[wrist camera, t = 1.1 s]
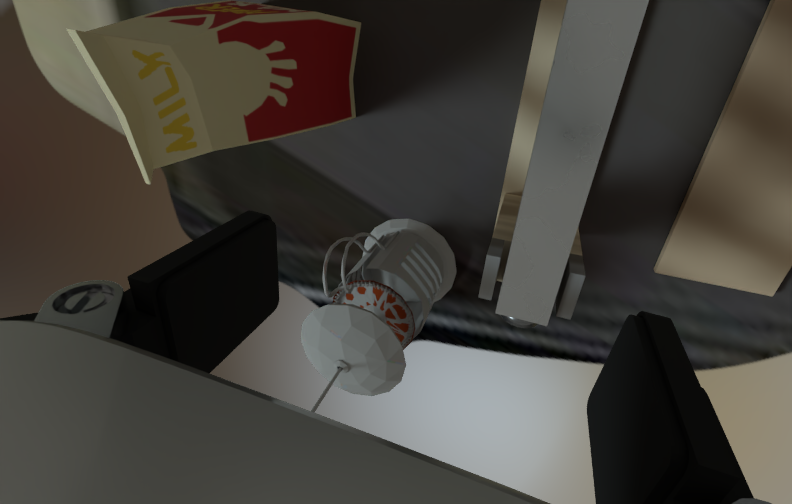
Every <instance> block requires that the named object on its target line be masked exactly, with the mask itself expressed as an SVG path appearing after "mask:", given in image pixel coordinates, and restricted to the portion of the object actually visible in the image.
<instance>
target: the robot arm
mask: <svg viewBox="0 0 792 504" xmlns="http://www.w3.org/2000/svg"><path fill="white" fill-rule="evenodd" d="M128 281H129V284H130V289H129V290H127V291H125V292H124V291H123V288H122V287H121V286H120V285H119V284H117V283H115V282H112V281H105V280H96V281H87V282H81V283H78V284H74V285H70V286H68V287H65V288H63V289H61V290H59V291H57V292H56V293H54V294H53V295H51V296H50V297H49V298H48V299H47V300H46V301H45V302H44V304H43V306H42V308H41V310H40V312H39V313H33V314H26V315H20V316H13V317H7V318H0V504H550V503H547V502H545V501H542V500H540V499H537V498H535V497H532V496H530V495H527V494H525V493H522V492H520V491H517V490H515V489H512V488H510V487H507V486H505V485H502V484H499V483H497V482H494V481H492V480H489V479H486V478H484V477H481V476H479V475H476V474H473V473H471V472H468V471H465V470H463V469H460V468H458V467H455V466H452V465H450V464H447V463H445V462H442V461H439V460H437V459H434V458H432V457H429V456H426V455H424V454H421V453H418V452H416V451H413V450H411V449H408V448H405V447H403V446H400V445H398V444H395V443H393V442H390V441H387V440H385V439H382V438H379V437H376V436H374V435H372V434H369V433H366V432H363V431H361V430H358V429H356V428H353V427H350V426H348V425H345V424H342V423H340V422H337V421H334V420H331V419H329V418H327V417H324V416H321V415H319V414H316V413H313V412H311V411H308V410H305V409H303V408H300V407H297V406H295V405H292V404H289V403H287V402H284V401H281V400H279V399H276V398H273V397H271V396H268V395H266V394H263V393H260V392H258V391H255V390H252V389H249V388H247V387H244V386H241V385H239V384H236V383H233V382H231V381H228V380H225V379H222V378H220V377H217V376H214V375H212V374H209V373H210V372H211V371H212V370H213V369H214V368H215V367H216V366H218V365H219V364H220V363H221V362H222V361H223V360H224V359H225V358H226V357H227V356H228V355H229V354H230V353H231V352H232V351H233V350H234V349H235V348H236V347H237V346H238V345H239V344H240V343H241V342H242V341H243V340H244V339H246V338H247V337H248V336H249V335H250V334H251V333H252V332H253V331H254V330H255V329H256V328H257V327H258V326H259V325H260V324H261V323H262V322H263V321H264V320H265V319H266V318H267V317H268V316H269V315H271V314H272V313H273V312H274V310H275V309H276V308H277V305H278V302H279V285H278V284H279V283H278V261H277V238H276V225H275V223H274V222H273V221H272V219H271V217H270V216H269V215H266V214H262V213H258V212H254V211H247V212H245V213H243V214H241V215H239V216H237V217H236V218H234V219H232V220H230V221H228V222H226V223H225V224H223V225H221V226H219V227H217V228H216V229H214V230H212V231H210V232H208V233H206V234H205V235H203V236H201V237H199V238H197V239H195V240H194V241H192V242H190V243H188V244H186V245H185V246H183V247H181V248H179V249H177V250H175V251H174V252H172V253H170V254H168V255H166V256H164V257H163V258H161V259H159V260H157V261H155V262H154V263H152V264H150V265H148V266H146V267H144V268H143V269H141V270H139V271H137V272H135V273H133V274H132V275H130V276H128ZM587 416H588V426H589V437H590V447H591V457H592V467H593V477H594V487H595V498H596V504H771V503H769V502H766V501H762V500H758V499H755V498H753V495H752V493H751V491H750V489H749V486H748V484H747V482H746V480H745V477H744V475H743V473H742V471H741V468H740V466H739V464H738V462H737V460H736V457H735V455H734V453H733V451H732V448H731V446H730V444H729V442H728V439H727V437H726V435H725V433H724V431H723V428H722V426H721V424H720V422H719V420H718V417H717V415H716V413H715V410H714V408H713V406H712V404H711V402H710V399H709V397H708V395H707V393H706V392H705V390H704V389H703V388H702V387H701V386H700V384H699V381H698V379H697V377H696V375H695V372H694V370H693V368H692V365H691V363H690V361H689V359H688V356H687V354H686V352H685V350H684V347H683V345H682V343H681V340H680V338H679V336H678V334H677V331H676V329H675V327H674V324H673V322H672V320H671V319H670V318H667V317H663V316H660V315H656V314H652V313H648V312H644V311H641V312H639V313H638V314H637V316H635V315H629V316H628V317H627V319H626V321H625V323H624V325H623V327H622V329H621V331H620V333H619V335H618V337H617V339H616V341H615V344H614V346H613V348H612V350H611V352H610V354H609V356H608V358H607V360H606V362H605V364H604V366H603V368H602V371H601V373H600V375H599V377H598V379H597V381H596V383H595V385H594V387H593V389H592V391H591V393H590V396H589V399H588V404H587Z"/></svg>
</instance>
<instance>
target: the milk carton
mask: <svg viewBox="0 0 792 504" xmlns="http://www.w3.org/2000/svg"><path fill="white" fill-rule="evenodd" d="M360 29H361V22H357V21H353V20H349V19H344V18H340V17H336V16H332V15H328V14H324V13H319V12H314V11H306V10H297V9H291V8H285V7H278V6H272V5H266V4H258V3H249V2H239V1H230V0H228V1H219V2H211V3H203V4H195V5H187V6H179V7H170V8H167V9H163V10H160V11H156V12H153V13H149V14H146V15H142V16H139V17H135V18H132V19H128V20H125V21H121V22H118V23H114V24H111V25H107V26H104V27H100V28H97V29H93V30H90V31H86V32H82V31H77V30H71V29H66V30H67V31H68V33H69V35H70V36H71V38H72V40H73V41H74V43H75V45H76V46H77V48H78V50H79V51H80V53H81V55H82V56H83V58H84V60H85V61H86V63H87V65H88V66H89V68H90V70H91V71H92V73H93V75H94V76H95V78H96V80H97V82H98V83H99V85H100V87H101V88H102V90H103V92H104V93H105V95H106V97H107V98H108V100H109V102H110V103H111V105H112V107H113V108H114V110H115V112H116V113H117V115H118V118H119V120H120V122H121V125H122V127H123V130H124V132H125V134H126V137H127V139H128V142H129V144H130V146H131V149H132V151H133V153H134V156H135V158H136V160H137V163H138V165H139V168H140V170H141V173H142V175H143V177H144V179H145V182H146V183H147V184H151V181H152V175H153V170H154V169H156V168H159V167H162V166H166V165H169V164H172V163H175V162H179V161H182V160H185V159H189V158H192V157H195V156H198V155H202V154H205V153H208V152H212V151H216V150H221V149H226V148H231V147H236V146H241V145H246V144H251V143H256V142H262V141H267V140H272V139H276V138H281V137H285V136H289V135H293V134H297V133H301V132H305V131H310V130H314V129H318V128H322V127H326V126H330V125H333V124H337V123H340V122H343V121H346V120H350V119H353V118H356V112H355V99H354V87H353V75H354V68H355V62H356V55H357V49H358V42H359V35H360Z"/></svg>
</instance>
